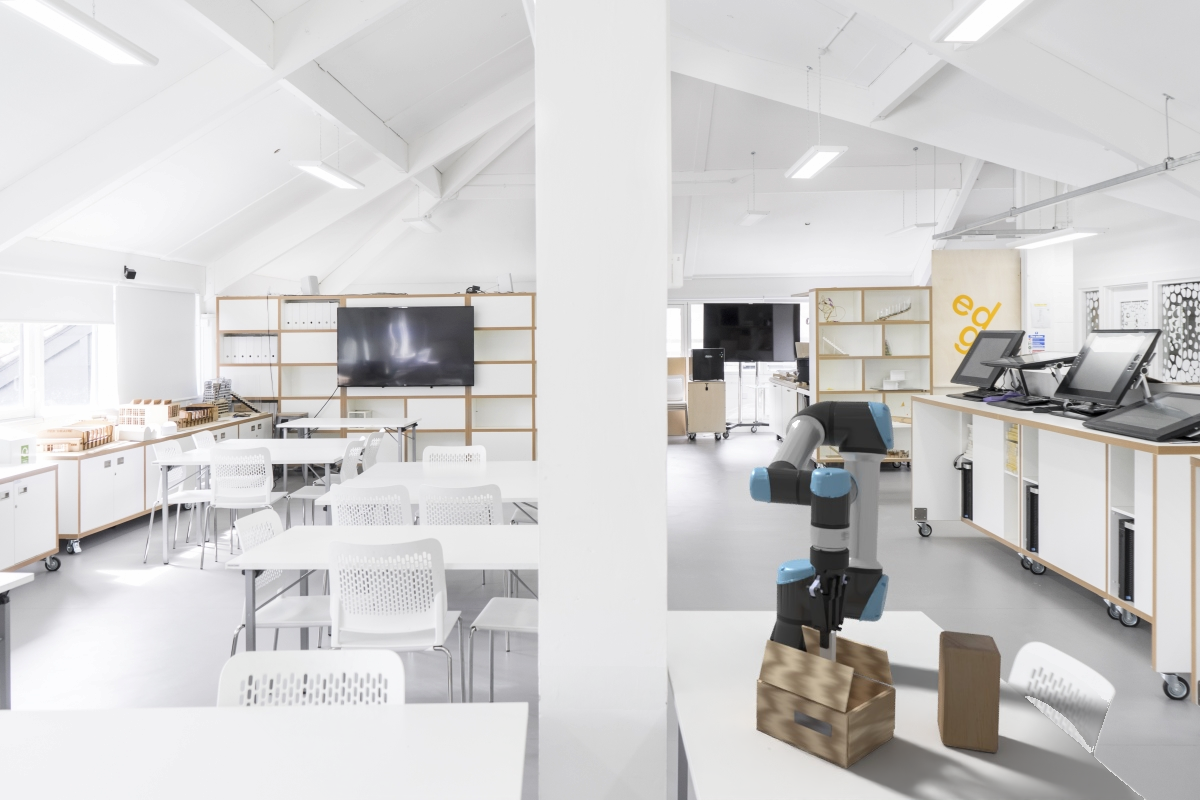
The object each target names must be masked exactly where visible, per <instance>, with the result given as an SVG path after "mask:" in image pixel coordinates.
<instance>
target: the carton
mask: <svg viewBox="0 0 1200 800" xmlns="http://www.w3.org/2000/svg"><path fill="white" fill-rule="evenodd" d="M896 693H897V689H896V688H895V687H894V686H892V685H889V684H886V683H883V682H880V681H877V680H874V679H871V678H868V677H865V676H862V675H859V674H856V673H853V677H852V682H851V687H850V692H849V697H848V702H847V707H846V712H842V711H840V710H837V709H834V708H832V707H829V706H827V705H824V704H821V703H819V702H816V701H814V700H811V699H808V698H806V697H803V696H801V695H798V694H795V693H793V692H790V691H788V690H785V689H782V688H780V687H777V686H775V685H772V684H769V683H767V682H764V681H762V680H759V678H757V679H756V714H755V715H756V717H755V718H756V728H755V729H756V730H757V731H760V732H762V733H764V734H766V735H768V736H770V737H773V738H775V739H777V740H780V741H782V742H783V743H786V744H788V745H791V746H793V747H795V748H797V749H800V750H802V751H804V752H806V753H808V754H811V755H813V756H815V757H818V758H820V759H822V760H825V761H826V762H828V763H831V764H834V765H836V766H837V767H840V768H842V769H844V770H846V769H848V768H849V767H850V766H852V765H854V764H855V763H857V762H858V761H860V760H861V759H862V758H864V757H866V756H867V755H869V754H870V753H872V752H873V751H874V750H876V749H878V748H879V747H881V746H882V745H883V744H885V743H886V742H888V741H889V740H891V739H892V738H894V734H895V729H896V722H895V721H896V699H897V698H896Z"/></svg>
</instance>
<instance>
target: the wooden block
mask: <svg viewBox="0 0 1200 800" xmlns="http://www.w3.org/2000/svg"><path fill="white" fill-rule="evenodd" d="M938 646H939V648H938V649H939V650H938V651H939V653H938V680H937V681H938V684H937V685H938V688H937V717H936V718H937V720H936V721H937V726H938V731H939V737H940V741H941V743H942V745H944V746H946V747H947V746H948V747H955V748H961V749H967V750H974V751H980V752H987V753H992V754H993V753H996V752H997V750H998V749H999V728H1000V727H999V726H1000V696H1001V695H1000V692H1001V669H1002V668H1001V661H1002V660H1001V658H1002V656H1001V655H1002V654H1001V653H1000V651H999V648H998V646H997V644H996V642H995V639H994V637H993V636H991V635H985V634H978V633H971V632H970V633H969V632H968V633H967V632H960V631H959V632H958V631H950V630H943V631H940V634H939V644H938Z"/></svg>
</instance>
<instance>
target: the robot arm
mask: <svg viewBox="0 0 1200 800" xmlns="http://www.w3.org/2000/svg"><path fill="white" fill-rule="evenodd" d="M891 415H892V414H891V410H890V407H889V405H887V404H886V403H884V402H877V401H876V402H874V401H843V400H842V401H841V400H840V401H839V400H838V401H837V400H835V401H833V400H824V401H820V402H816V403H812V404H811V405H810V404H809V406H807V407H804V408H803V409H801V410H800V411H798V412H797V413H795V414H794V415H793V416H792V418H790V420H789V421H788V424H787V426H786V428H785V437H784V439H783V441H782V442H781V444H780V446H779V447H778V450H777V452H776V453H775V454H774V457H773V458H772V459H771V462H770V464H768V466H767V467H766V466H763V467H759V466H758V467H754V468H753V469H752V471H751V473H750V477H749V493H750V494H749V495H750V498H751V499H752V500H753V501H755V502H763V503H767V504H783V505H797V506H798V505H799V506H807V507H810V525H809V526H810V527H809V528H810V530H809V543H810V545H811V547H810V548H809V558H800V559H799V558H796V559H792V560H787V561H785V562H783V563H781V564H780V565H779V566H778V569H777V575H776V576H777V577H776V580H775V582H776V620H775V623H774V625H773V629H772V632H771V634H770V637H769V640H771V641H774V642H777V643H780V644H783V645H786V646H789V647H792V648H795V649H798V650H801V651H804V652H807V649H806V644H805V640H804V635H803V630H802V625H804V626H807V627H810V628H813V629H815V630H818V631H819V632H820V657H822V658H824V659H827V660H830V661H833V662H836V636H837V632H842V630H843V627H840V626H843V624H844V620H845V619H850V620H856V621H858V622H863V621H864V622H875V623H876V622H878V621H879V620H880V619H881V618H882V616H883V613H884V610H885V605H886V601H887V600H886V599H887V595H888V588H889V579H890V577H889V576H888V575H887V574H885V573H883V572H884V571H883V568H884V567H883V566H882V564H881V563H880V562H879V561H878V559H877V558H878V557H877V556H878V525H879V524H878V523H879V522H878V521H879V505H880V504H879V502H880V501H879V500H880V480H881V479H880V478H881V476H880V474H881V462H883V460H884V461H885V459H886V458H887V456H888V450H889V451H890V450H892V449H894V447H895V446H894V445H895V443H894V430H893V429H894V428H893V421H892V416H891ZM821 446H823V447H824V446H826V447H827V446H828V447H829V446H830V447H838V452H837V454H838V455H839V456H840V457H841V458H842V459H843V461H844V462H843V463H844V465H843V468H839V467H820V468H815V469H813V470H806V469H807V466H808V464H809V462H810V460H811V458H812V456H813V454H814V452H815V450H816V449H818V448H819V447H821Z"/></svg>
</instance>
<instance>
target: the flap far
mask: <svg viewBox="0 0 1200 800" xmlns="http://www.w3.org/2000/svg"><path fill="white" fill-rule="evenodd" d="M802 630H803V635H804V640H805V644H806V649H807V653H810V654H813V655H816V656H819V657H820V632H819V631H818V630H815V629H813V628H810V627H807V626H804V625H802ZM836 663H839V664H842V665H845V666H848V667H851V668H854V672H853V674H856V675H859V676H862V677H865V678H868V679H871V680H874V681H876V682H879V683H882V684H885V685H888V686H893V685H894V682H893V676H892V672H891V666H890V665H891V664H890V661H889V655H888V650H886V649H882V648H878V647H876V646H872V645H869V644H866V643H862V642H859V641H857V640H856V641H855V640H852V639H849V638H845V637H843V636H840V635H839V636H838V635H836Z"/></svg>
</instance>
